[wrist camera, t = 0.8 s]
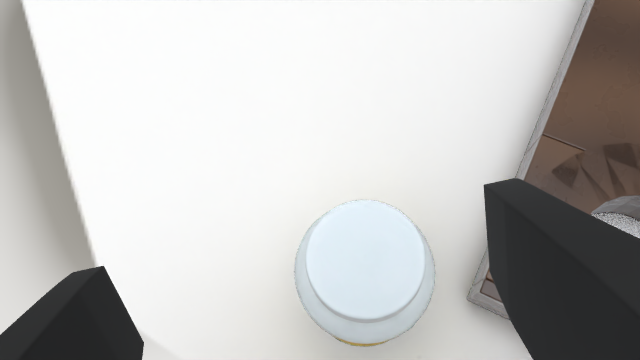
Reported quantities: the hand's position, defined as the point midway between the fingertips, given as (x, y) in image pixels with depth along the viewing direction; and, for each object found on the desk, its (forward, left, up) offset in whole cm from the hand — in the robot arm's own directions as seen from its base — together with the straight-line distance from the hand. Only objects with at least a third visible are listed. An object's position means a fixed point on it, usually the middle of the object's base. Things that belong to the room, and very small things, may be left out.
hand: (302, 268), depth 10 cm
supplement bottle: (+1, -2, -17) cm, 17 cm away
